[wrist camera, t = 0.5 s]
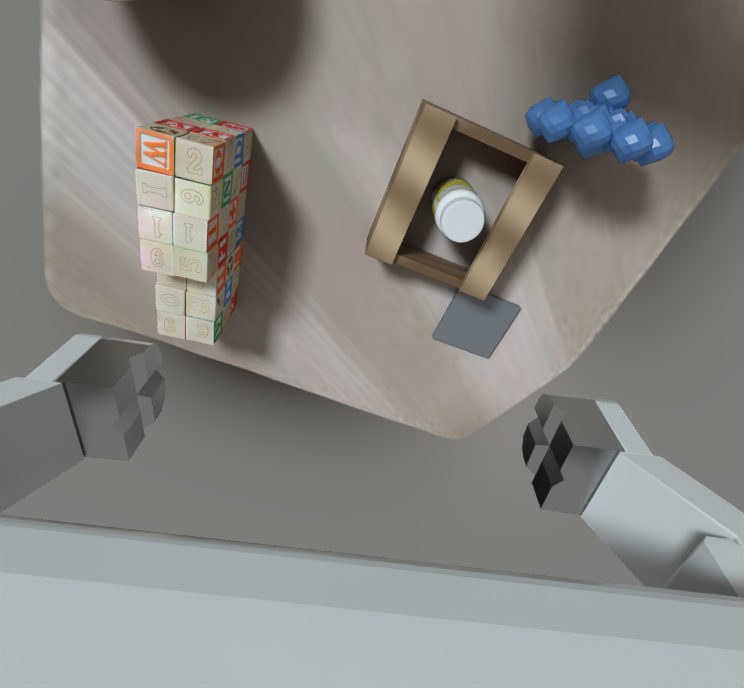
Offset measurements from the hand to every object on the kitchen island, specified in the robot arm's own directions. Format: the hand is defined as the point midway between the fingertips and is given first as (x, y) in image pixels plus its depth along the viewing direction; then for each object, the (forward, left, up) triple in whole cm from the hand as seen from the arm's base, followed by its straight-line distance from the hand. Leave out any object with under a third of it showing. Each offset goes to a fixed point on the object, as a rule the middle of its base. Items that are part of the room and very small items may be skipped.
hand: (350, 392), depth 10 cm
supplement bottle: (+3, +10, -43) cm, 44 cm away
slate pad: (+16, +19, -42) cm, 49 cm away
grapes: (-9, +17, -43) cm, 47 cm away
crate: (+3, +10, -42) cm, 43 cm away
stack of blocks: (+15, -14, -43) cm, 48 cm away
